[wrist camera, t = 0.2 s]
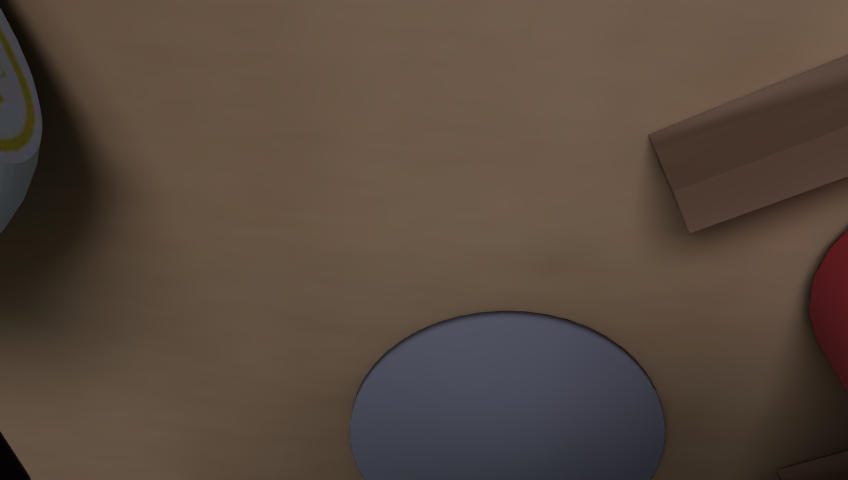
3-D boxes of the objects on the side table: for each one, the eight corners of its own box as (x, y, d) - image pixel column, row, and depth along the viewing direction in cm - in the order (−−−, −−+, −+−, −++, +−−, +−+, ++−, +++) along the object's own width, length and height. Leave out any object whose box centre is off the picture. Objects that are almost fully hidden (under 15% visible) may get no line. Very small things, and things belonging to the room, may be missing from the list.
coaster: (701, 490, 27) (705, 499, 27) (434, 562, 30) (433, 572, 30) (598, 264, 23) (600, 272, 22) (294, 374, 25) (291, 383, 25)
